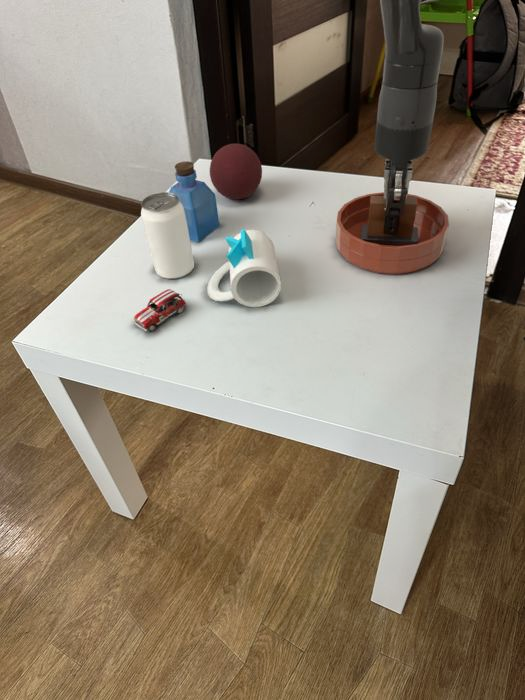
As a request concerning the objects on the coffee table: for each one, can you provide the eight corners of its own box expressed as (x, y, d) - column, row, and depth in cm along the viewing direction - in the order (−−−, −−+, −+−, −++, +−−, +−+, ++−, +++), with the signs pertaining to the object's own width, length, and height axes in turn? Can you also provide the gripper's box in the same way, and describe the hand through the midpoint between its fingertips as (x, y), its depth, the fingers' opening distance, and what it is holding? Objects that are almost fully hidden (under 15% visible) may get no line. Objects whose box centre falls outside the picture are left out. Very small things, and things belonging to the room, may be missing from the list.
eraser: (416, 233, 82) (423, 193, 77) (417, 247, 79) (424, 207, 74) (361, 230, 84) (364, 192, 79) (360, 245, 81) (363, 205, 76)
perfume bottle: (198, 242, 86) (186, 176, 78) (171, 234, 89) (157, 169, 81) (219, 226, 90) (210, 161, 82) (193, 218, 93) (181, 154, 84)
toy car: (133, 325, 72) (127, 308, 69) (176, 298, 75) (172, 281, 73) (148, 336, 70) (142, 319, 67) (191, 308, 74) (187, 291, 71)
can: (203, 266, 81) (190, 198, 73) (172, 285, 78) (156, 216, 70) (177, 253, 85) (163, 186, 76) (147, 270, 81) (129, 203, 73)
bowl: (439, 220, 87) (444, 193, 83) (446, 278, 75) (452, 250, 71) (340, 216, 90) (341, 190, 86) (331, 272, 78) (332, 245, 74)
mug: (253, 204, 74) (260, 247, 66) (280, 249, 80) (289, 294, 72) (187, 238, 77) (185, 284, 69) (217, 279, 83) (219, 326, 75)
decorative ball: (265, 184, 101) (262, 134, 94) (261, 208, 94) (257, 156, 87) (217, 185, 102) (210, 135, 95) (209, 209, 95) (201, 158, 88)
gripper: (436, 137, 62) (415, 253, 74) (431, 99, 72) (413, 207, 84) (375, 136, 64) (364, 251, 76) (378, 99, 73) (368, 206, 85)
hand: (390, 227), depth 80 cm, fingers closed on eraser, 2 cm apart
